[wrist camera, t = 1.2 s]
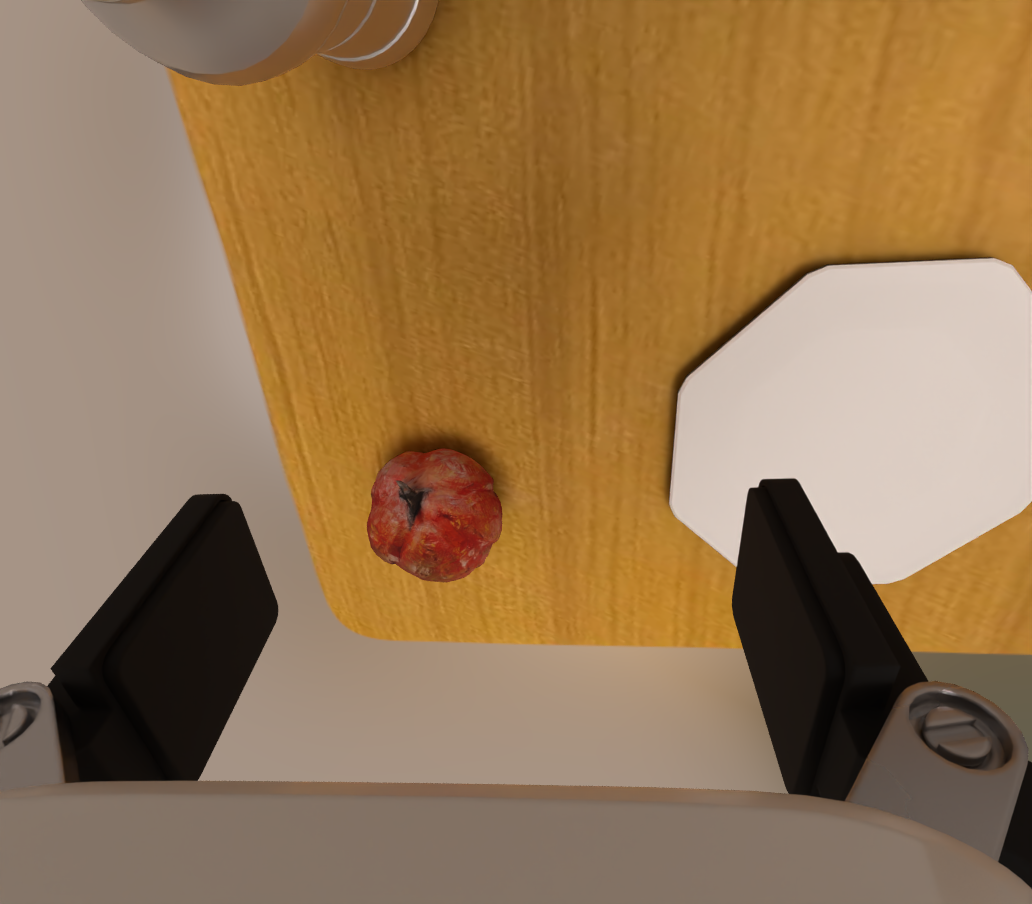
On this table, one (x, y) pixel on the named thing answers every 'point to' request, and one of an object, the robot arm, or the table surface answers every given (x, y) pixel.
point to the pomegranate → (434, 514)
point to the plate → (869, 411)
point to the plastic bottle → (265, 33)
